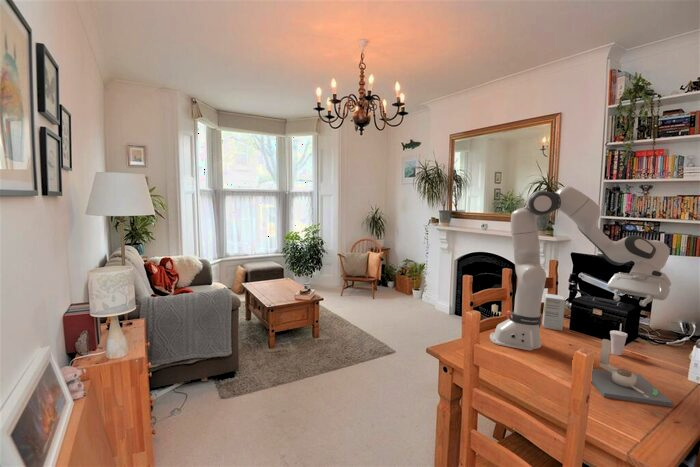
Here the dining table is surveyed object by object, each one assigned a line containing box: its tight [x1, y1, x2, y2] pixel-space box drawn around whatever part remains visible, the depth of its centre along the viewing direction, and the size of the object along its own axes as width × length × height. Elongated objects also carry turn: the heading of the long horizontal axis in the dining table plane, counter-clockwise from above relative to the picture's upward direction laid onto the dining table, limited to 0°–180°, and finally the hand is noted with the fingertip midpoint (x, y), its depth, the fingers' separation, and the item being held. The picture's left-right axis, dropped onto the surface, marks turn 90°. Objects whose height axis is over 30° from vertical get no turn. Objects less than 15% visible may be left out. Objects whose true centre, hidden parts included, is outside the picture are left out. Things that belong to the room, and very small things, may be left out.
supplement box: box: [541, 293, 566, 331], centre depth 194 cm, size 10×9×17 cm
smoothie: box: [609, 323, 628, 356], centre depth 160 cm, size 6×6×14 cm
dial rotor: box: [599, 338, 644, 394], centre depth 132 cm, size 18×7×12 cm, turn 6°
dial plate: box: [591, 368, 674, 408], centre depth 131 cm, size 20×20×2 cm
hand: (628, 302), depth 144 cm, fingers open, 8 cm apart
